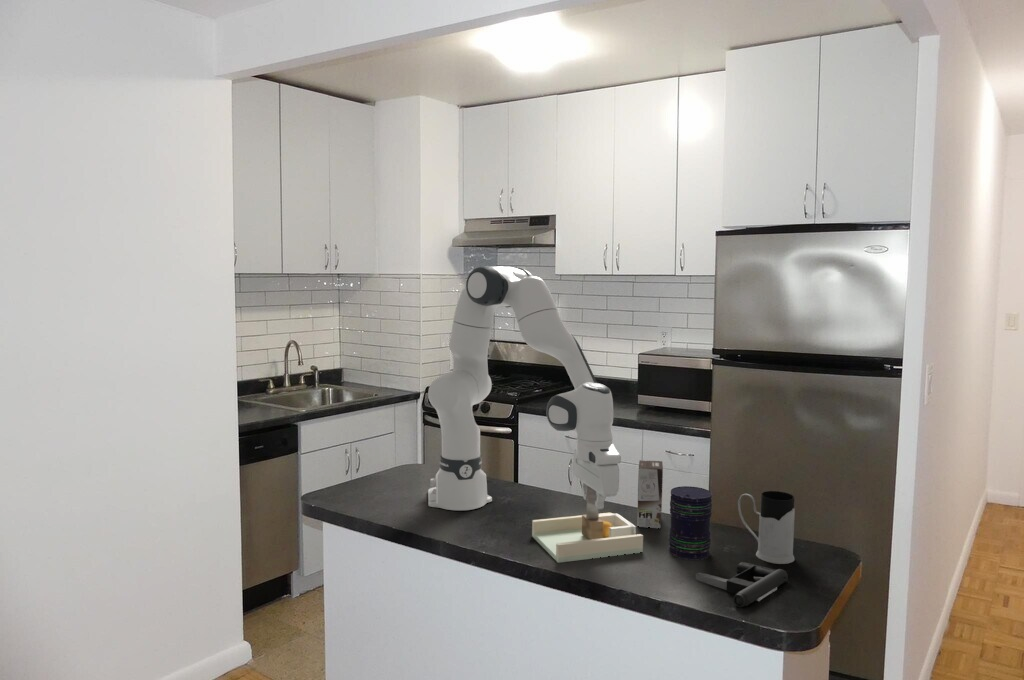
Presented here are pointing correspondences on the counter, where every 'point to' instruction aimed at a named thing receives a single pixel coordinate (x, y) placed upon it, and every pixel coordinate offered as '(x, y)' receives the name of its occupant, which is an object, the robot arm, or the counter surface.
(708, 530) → the storage jar
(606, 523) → the ball
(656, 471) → the coffee box
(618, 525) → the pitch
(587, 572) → the counter surface
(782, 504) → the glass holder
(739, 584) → the door handle
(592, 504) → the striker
